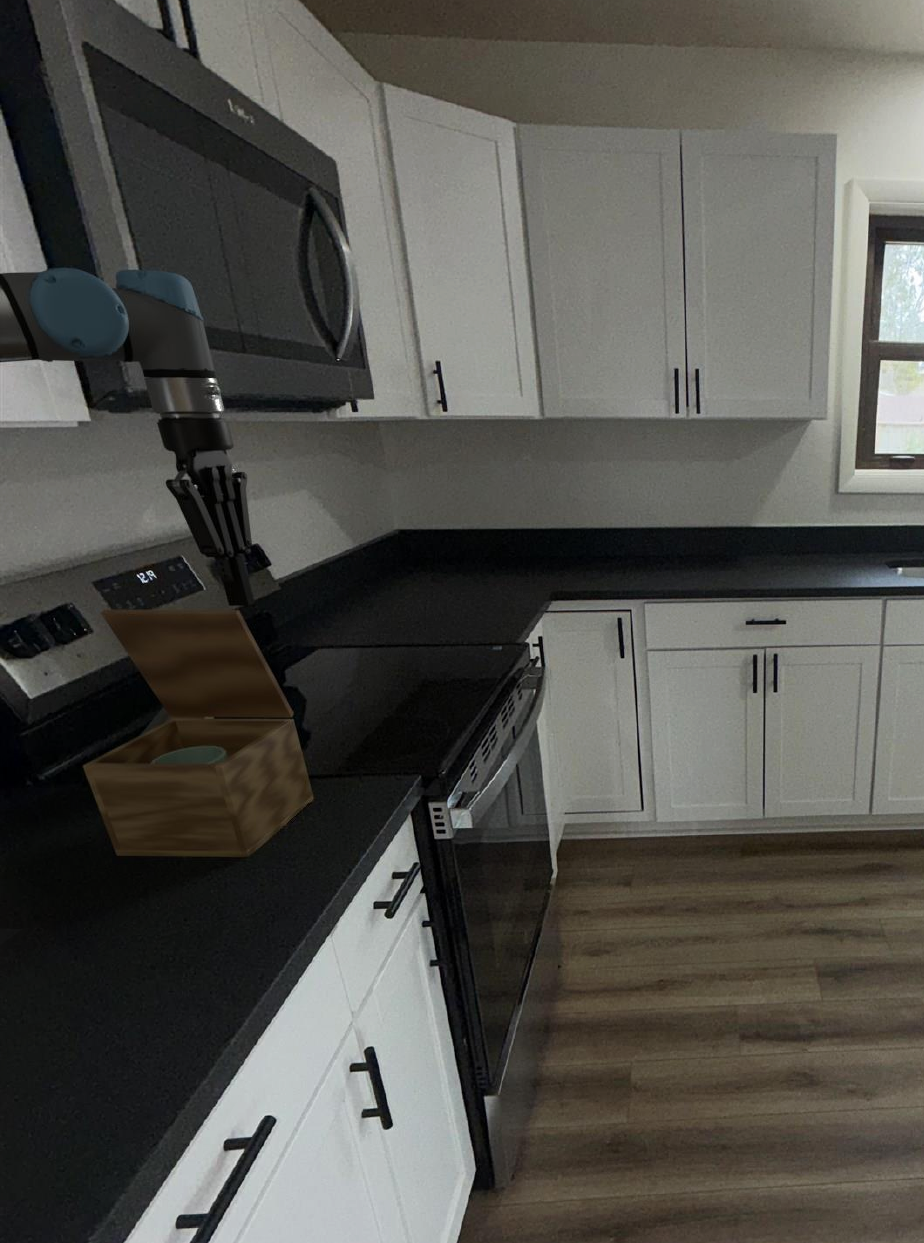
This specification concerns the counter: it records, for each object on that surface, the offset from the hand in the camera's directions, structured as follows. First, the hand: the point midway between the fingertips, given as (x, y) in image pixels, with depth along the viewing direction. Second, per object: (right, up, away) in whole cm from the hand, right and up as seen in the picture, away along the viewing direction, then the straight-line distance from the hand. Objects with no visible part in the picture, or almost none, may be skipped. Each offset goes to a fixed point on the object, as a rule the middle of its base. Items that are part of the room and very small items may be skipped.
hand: (242, 604), depth 110 cm
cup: (0, -30, -6) cm, 31 cm away
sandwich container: (-19, -24, +12) cm, 32 cm away
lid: (0, -10, -8) cm, 12 cm away
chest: (0, -30, -4) cm, 30 cm away
